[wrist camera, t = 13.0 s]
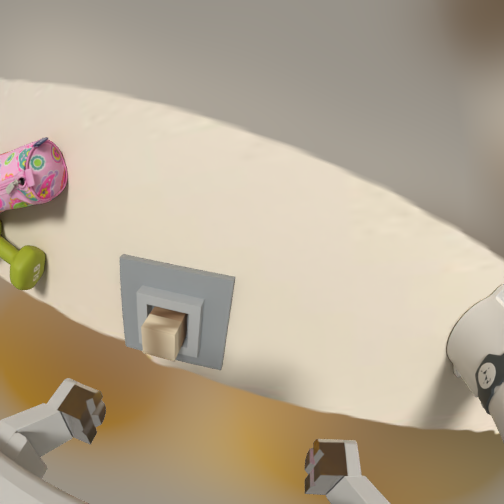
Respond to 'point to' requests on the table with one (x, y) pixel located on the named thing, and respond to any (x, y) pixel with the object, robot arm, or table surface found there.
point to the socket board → (178, 305)
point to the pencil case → (31, 175)
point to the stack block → (164, 333)
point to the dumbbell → (23, 263)
